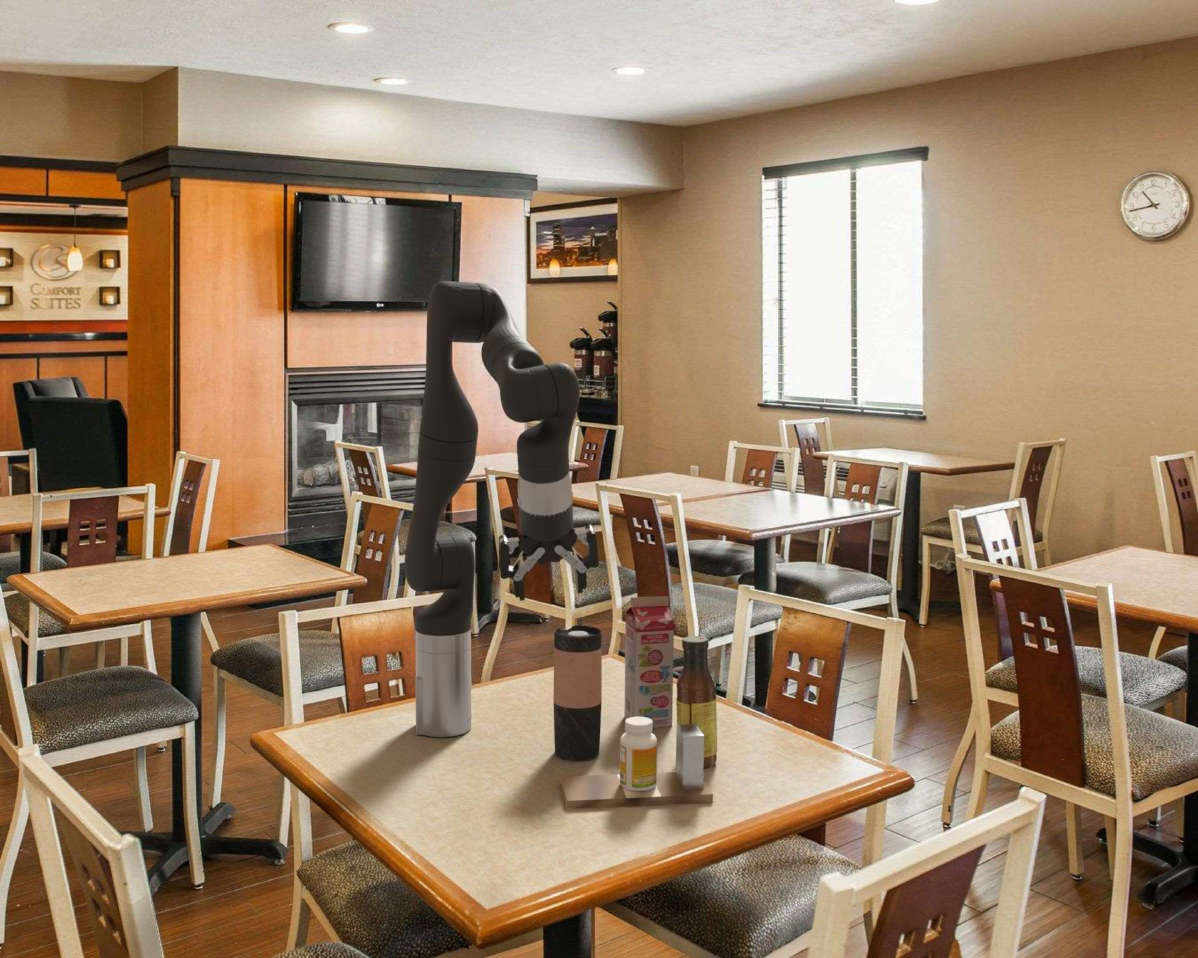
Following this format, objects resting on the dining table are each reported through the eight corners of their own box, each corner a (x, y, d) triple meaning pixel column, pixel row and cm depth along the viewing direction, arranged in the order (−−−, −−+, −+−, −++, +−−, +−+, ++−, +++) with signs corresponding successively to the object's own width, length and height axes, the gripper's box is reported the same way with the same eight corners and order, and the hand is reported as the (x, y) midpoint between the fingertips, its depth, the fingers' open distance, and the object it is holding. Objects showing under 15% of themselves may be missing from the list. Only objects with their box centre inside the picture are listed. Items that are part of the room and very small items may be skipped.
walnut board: (566, 808, 162) (566, 800, 162) (560, 784, 171) (560, 776, 171) (712, 802, 165) (712, 793, 165) (698, 778, 174) (699, 770, 174)
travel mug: (595, 763, 179) (596, 638, 177) (548, 759, 181) (548, 635, 178) (605, 747, 187) (606, 626, 184) (559, 743, 188) (560, 623, 186)
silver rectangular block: (682, 789, 166) (683, 736, 165) (675, 776, 171) (676, 724, 170) (703, 788, 167) (704, 735, 166) (695, 775, 172) (696, 724, 171)
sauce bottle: (722, 759, 182) (725, 636, 179) (709, 772, 176) (711, 646, 174) (683, 752, 185) (685, 631, 182) (669, 765, 179) (671, 640, 177)
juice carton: (624, 716, 202) (626, 593, 199) (660, 713, 204) (662, 591, 201) (634, 729, 196) (636, 602, 193) (672, 726, 197) (674, 600, 194)
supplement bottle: (663, 783, 169) (664, 718, 168) (644, 795, 164) (645, 729, 163) (631, 775, 172) (632, 712, 170) (612, 786, 167) (613, 722, 166)
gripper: (591, 480, 165) (593, 573, 173) (491, 491, 163) (499, 585, 171) (600, 507, 158) (602, 602, 167) (497, 519, 156) (504, 615, 165)
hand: (550, 593), depth 169 cm, fingers open, 8 cm apart
